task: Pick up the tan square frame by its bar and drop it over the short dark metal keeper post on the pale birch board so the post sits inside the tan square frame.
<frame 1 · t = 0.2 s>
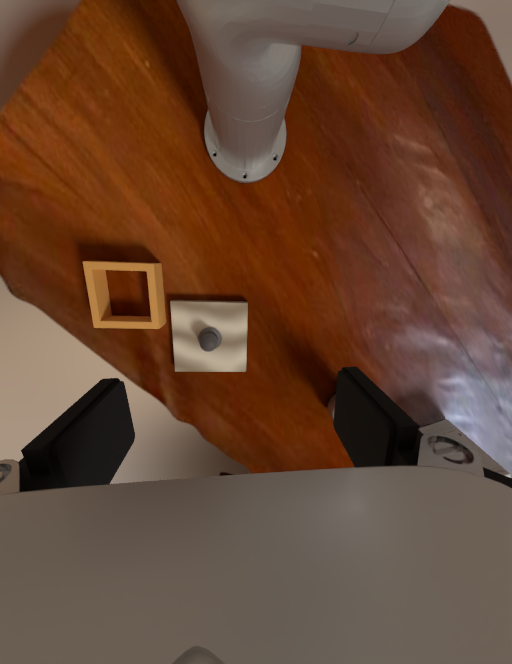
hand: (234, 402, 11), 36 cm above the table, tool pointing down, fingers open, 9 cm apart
skincare box: (429, 432, 58), on the table
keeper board: (211, 335, 47), on the table
tan square frame: (133, 293, 44), on the table
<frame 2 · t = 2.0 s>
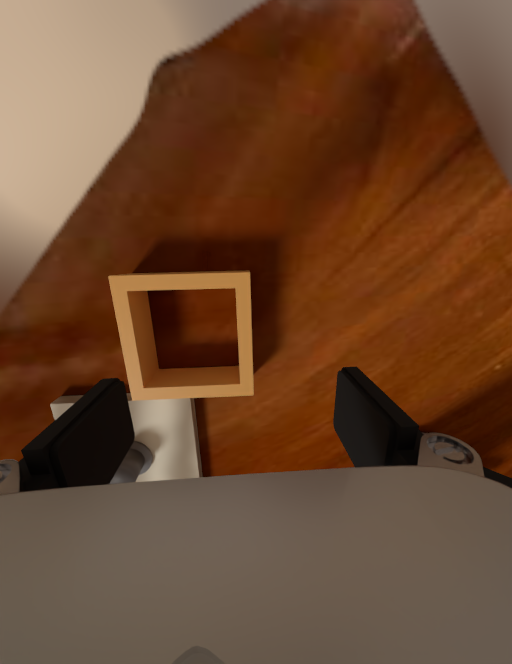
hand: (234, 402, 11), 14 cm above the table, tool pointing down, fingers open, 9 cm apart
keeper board: (138, 446, 28), on the table
tan square frame: (196, 328, 24), on the table
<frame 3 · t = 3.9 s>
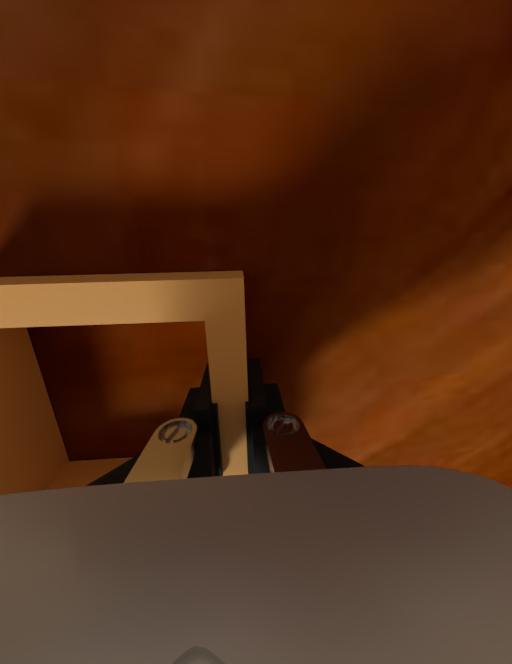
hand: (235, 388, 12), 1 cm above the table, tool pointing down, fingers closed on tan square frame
tan square frame: (136, 387, 12), on the table, touching gripper
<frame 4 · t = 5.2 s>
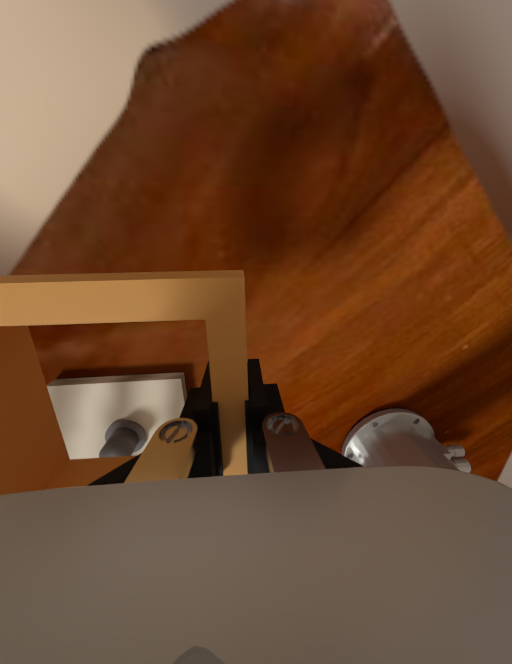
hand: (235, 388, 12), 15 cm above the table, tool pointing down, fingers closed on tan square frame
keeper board: (132, 426, 29), on the table
tan square frame: (137, 385, 12), point 14 cm above the table, touching gripper
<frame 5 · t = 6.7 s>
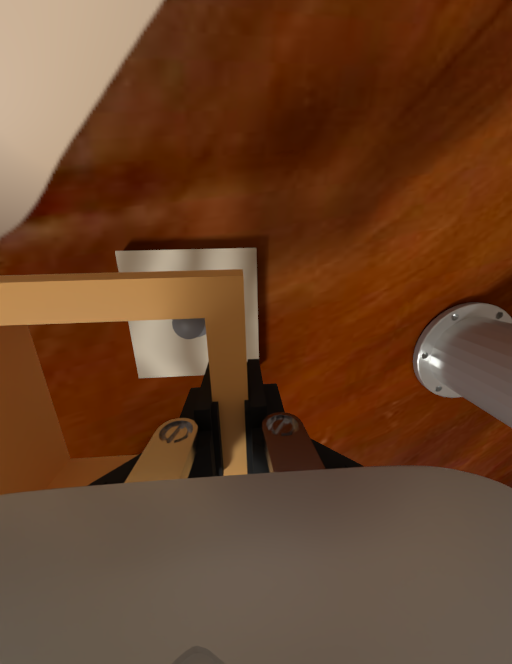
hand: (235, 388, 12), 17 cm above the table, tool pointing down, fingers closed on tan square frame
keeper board: (196, 314, 28), on the table
tan square frame: (137, 385, 12), point 16 cm above the table, touching gripper
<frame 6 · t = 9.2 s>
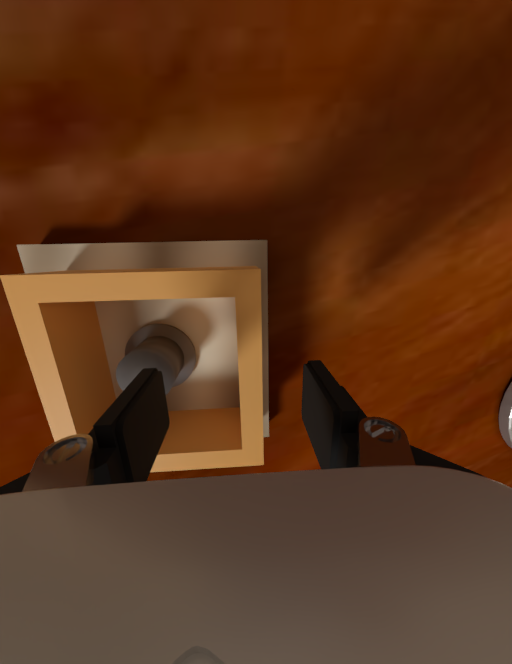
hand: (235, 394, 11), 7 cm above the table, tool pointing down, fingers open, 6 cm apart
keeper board: (168, 347, 17), on the table
tan square frame: (174, 354, 16), point 1 cm above the table, touching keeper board
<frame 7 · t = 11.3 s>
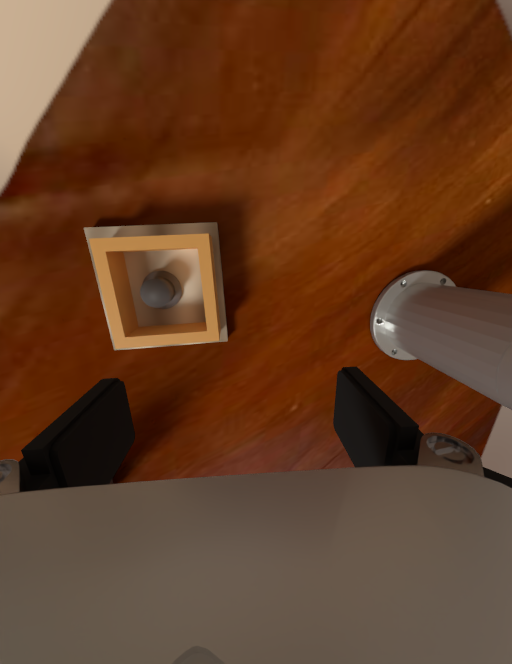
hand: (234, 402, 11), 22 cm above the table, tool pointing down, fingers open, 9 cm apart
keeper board: (165, 288, 30), on the table
tan square frame: (169, 289, 28), point 1 cm above the table, touching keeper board
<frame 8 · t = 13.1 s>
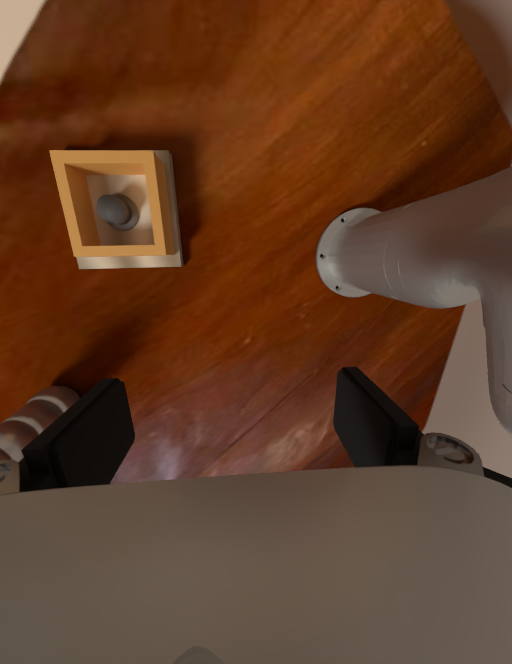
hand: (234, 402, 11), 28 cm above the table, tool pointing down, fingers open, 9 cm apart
plastic bottle: (67, 396, 41), on the table
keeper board: (126, 214, 33), on the table
tan square frame: (127, 212, 32), point 1 cm above the table, touching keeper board
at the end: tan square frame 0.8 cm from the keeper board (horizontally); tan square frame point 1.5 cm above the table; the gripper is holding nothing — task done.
